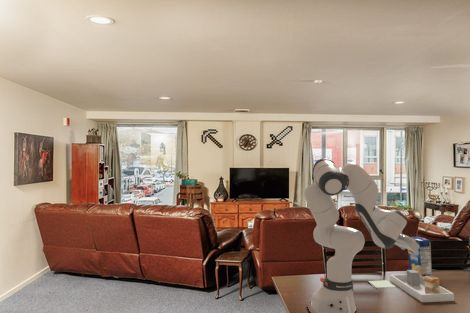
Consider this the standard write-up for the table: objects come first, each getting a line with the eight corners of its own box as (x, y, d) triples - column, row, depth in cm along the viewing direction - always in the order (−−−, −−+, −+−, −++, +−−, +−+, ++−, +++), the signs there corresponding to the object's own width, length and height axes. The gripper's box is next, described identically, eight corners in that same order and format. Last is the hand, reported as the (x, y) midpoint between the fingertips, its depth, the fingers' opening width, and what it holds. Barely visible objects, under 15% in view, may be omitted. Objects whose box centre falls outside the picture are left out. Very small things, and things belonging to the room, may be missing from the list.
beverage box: (421, 278, 188) (419, 240, 188) (409, 272, 198) (407, 236, 199) (432, 277, 188) (430, 240, 189) (419, 272, 199) (417, 236, 200)
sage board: (376, 289, 173) (376, 287, 173) (368, 282, 183) (368, 281, 183) (396, 288, 174) (396, 286, 174) (387, 282, 184) (386, 280, 184)
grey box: (411, 285, 175) (411, 272, 175) (407, 282, 179) (406, 270, 179) (419, 285, 175) (419, 272, 175) (415, 282, 179) (414, 269, 179)
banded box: (432, 297, 158) (431, 279, 159) (425, 294, 163) (424, 276, 163) (440, 296, 159) (439, 278, 159) (432, 293, 164) (431, 275, 164)
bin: (421, 304, 153) (421, 294, 154) (390, 282, 182) (389, 274, 183) (454, 302, 154) (453, 293, 154) (417, 281, 183) (417, 273, 183)
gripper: (410, 231, 147) (430, 251, 148) (383, 223, 167) (401, 241, 168) (401, 242, 146) (422, 262, 147) (375, 232, 166) (393, 250, 167)
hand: (410, 251), depth 158 cm, fingers open, 8 cm apart
